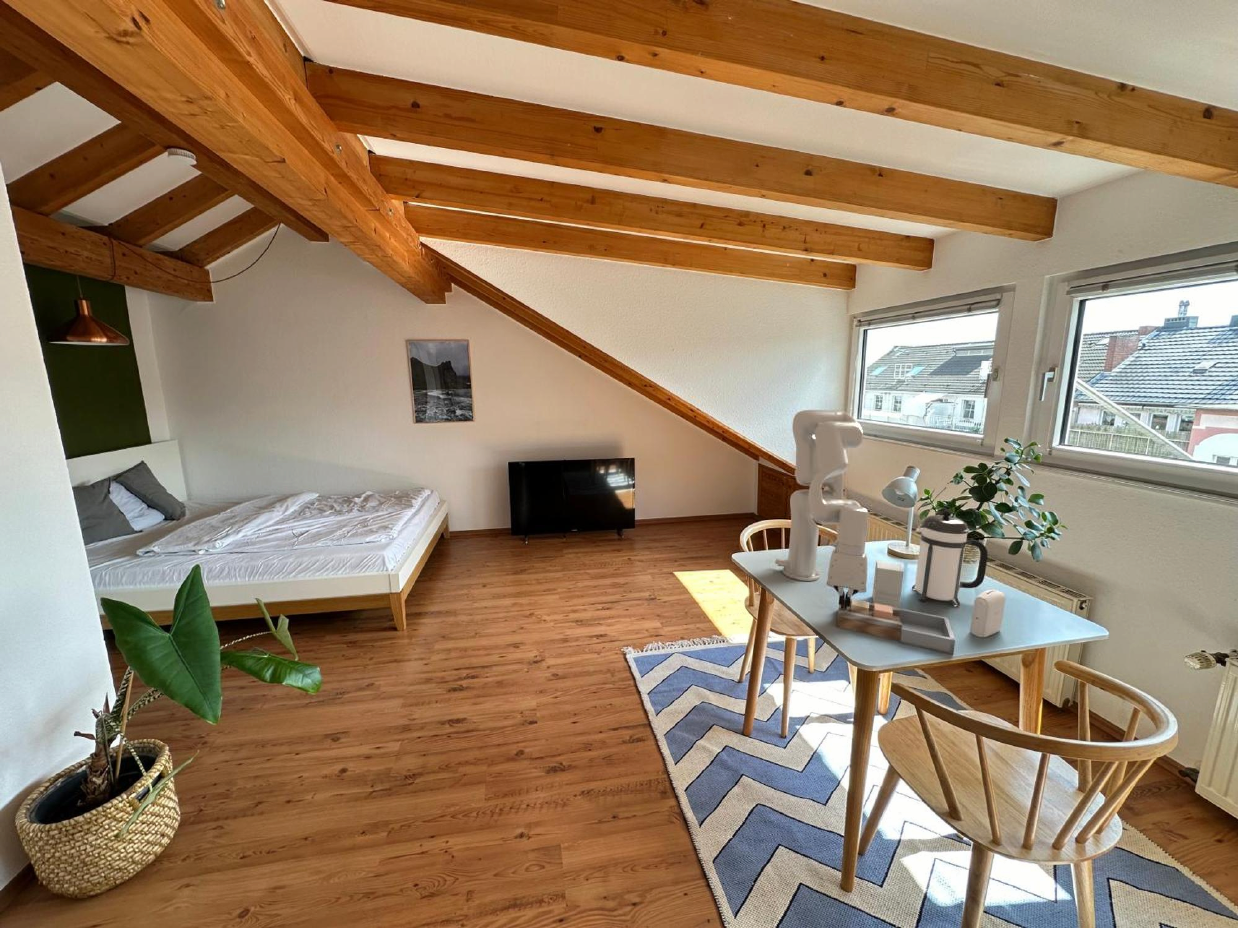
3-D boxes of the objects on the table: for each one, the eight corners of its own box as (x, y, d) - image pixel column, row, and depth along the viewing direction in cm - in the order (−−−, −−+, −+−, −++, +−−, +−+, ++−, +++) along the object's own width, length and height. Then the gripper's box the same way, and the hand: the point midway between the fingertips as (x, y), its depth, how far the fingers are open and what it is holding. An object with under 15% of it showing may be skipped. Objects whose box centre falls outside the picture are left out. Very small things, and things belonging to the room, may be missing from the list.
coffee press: (945, 612, 150) (958, 519, 145) (898, 591, 165) (909, 506, 160) (981, 604, 156) (995, 514, 151) (933, 584, 171) (945, 502, 166)
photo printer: (983, 639, 135) (990, 597, 133) (967, 632, 138) (973, 591, 136) (1002, 631, 139) (1009, 590, 137) (986, 624, 143) (992, 585, 141)
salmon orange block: (873, 619, 139) (874, 609, 138) (873, 612, 143) (874, 603, 142) (891, 622, 137) (892, 612, 136) (890, 616, 141) (892, 606, 140)
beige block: (850, 614, 141) (851, 604, 141) (851, 608, 145) (852, 598, 145) (867, 618, 139) (868, 608, 139) (868, 611, 143) (869, 602, 143)
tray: (900, 642, 132) (902, 628, 131) (897, 620, 144) (899, 608, 144) (953, 654, 127) (955, 640, 126) (945, 630, 139) (947, 617, 138)
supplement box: (897, 600, 158) (901, 563, 156) (899, 609, 151) (904, 571, 149) (871, 595, 161) (875, 559, 159) (872, 605, 154) (877, 567, 152)
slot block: (836, 626, 140) (838, 612, 139) (838, 609, 151) (840, 596, 150) (900, 640, 133) (902, 625, 132) (897, 622, 143) (899, 607, 143)
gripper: (821, 547, 141) (815, 606, 144) (879, 556, 134) (872, 618, 137) (823, 540, 148) (818, 597, 151) (879, 548, 141) (872, 608, 144)
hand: (843, 607), depth 144 cm, fingers closed
